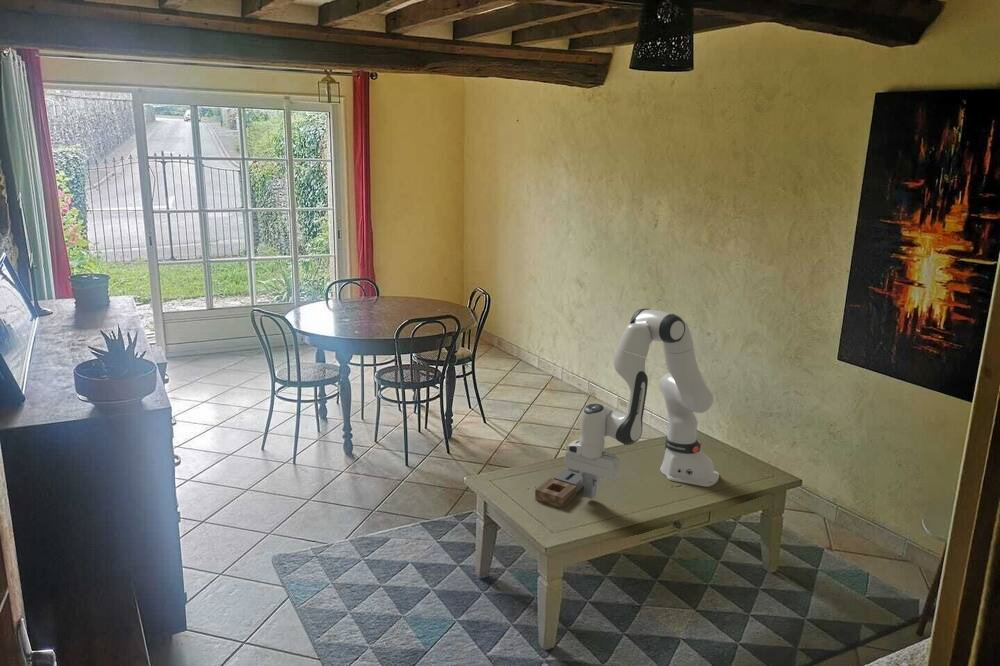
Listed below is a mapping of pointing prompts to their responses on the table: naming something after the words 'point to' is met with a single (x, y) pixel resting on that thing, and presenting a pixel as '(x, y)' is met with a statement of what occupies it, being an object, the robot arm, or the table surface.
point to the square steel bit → (589, 485)
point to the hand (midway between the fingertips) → (590, 484)
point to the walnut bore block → (555, 492)
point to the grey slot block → (570, 478)
